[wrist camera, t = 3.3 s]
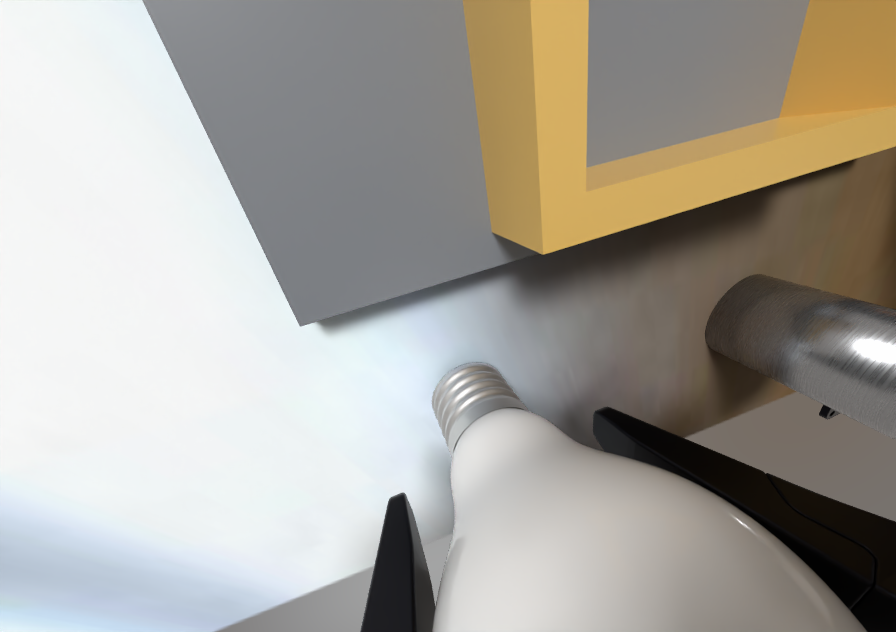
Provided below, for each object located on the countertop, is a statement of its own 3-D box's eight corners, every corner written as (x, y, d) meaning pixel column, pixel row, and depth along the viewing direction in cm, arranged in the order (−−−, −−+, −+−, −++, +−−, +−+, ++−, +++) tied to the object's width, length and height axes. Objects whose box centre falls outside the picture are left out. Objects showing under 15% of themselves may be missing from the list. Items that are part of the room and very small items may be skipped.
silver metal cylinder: (782, 263, 15) (1022, 317, 10) (759, 335, 17) (948, 412, 12) (715, 289, 14) (933, 361, 9) (698, 361, 16) (871, 455, 11)
